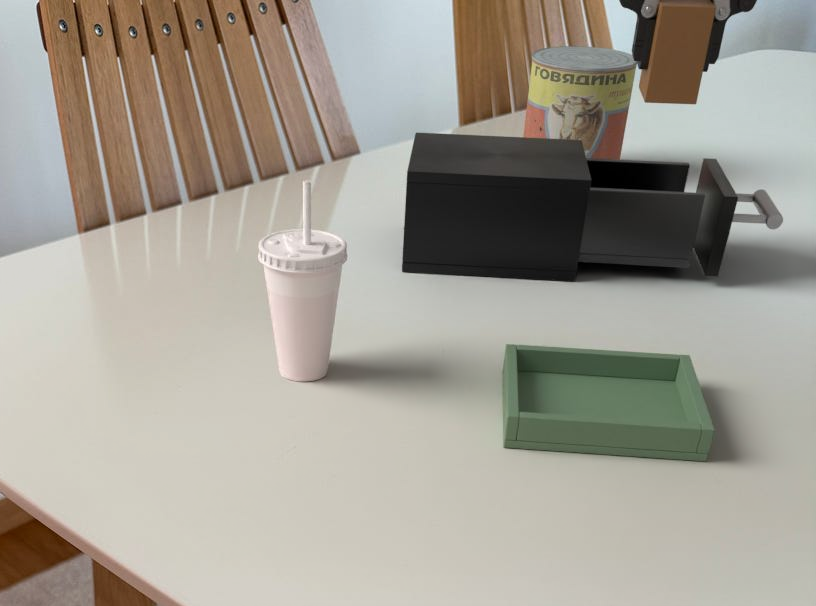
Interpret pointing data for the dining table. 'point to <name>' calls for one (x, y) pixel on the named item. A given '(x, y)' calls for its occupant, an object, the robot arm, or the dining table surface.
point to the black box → (495, 206)
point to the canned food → (581, 97)
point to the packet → (678, 51)
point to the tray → (604, 403)
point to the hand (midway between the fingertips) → (672, 67)
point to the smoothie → (303, 293)
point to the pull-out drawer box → (664, 214)
